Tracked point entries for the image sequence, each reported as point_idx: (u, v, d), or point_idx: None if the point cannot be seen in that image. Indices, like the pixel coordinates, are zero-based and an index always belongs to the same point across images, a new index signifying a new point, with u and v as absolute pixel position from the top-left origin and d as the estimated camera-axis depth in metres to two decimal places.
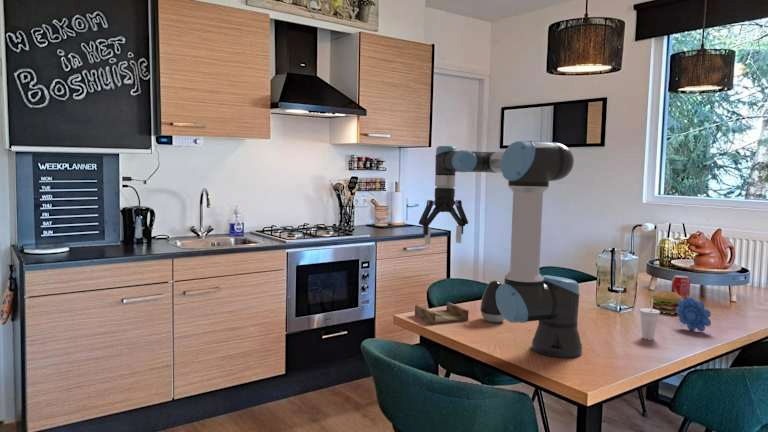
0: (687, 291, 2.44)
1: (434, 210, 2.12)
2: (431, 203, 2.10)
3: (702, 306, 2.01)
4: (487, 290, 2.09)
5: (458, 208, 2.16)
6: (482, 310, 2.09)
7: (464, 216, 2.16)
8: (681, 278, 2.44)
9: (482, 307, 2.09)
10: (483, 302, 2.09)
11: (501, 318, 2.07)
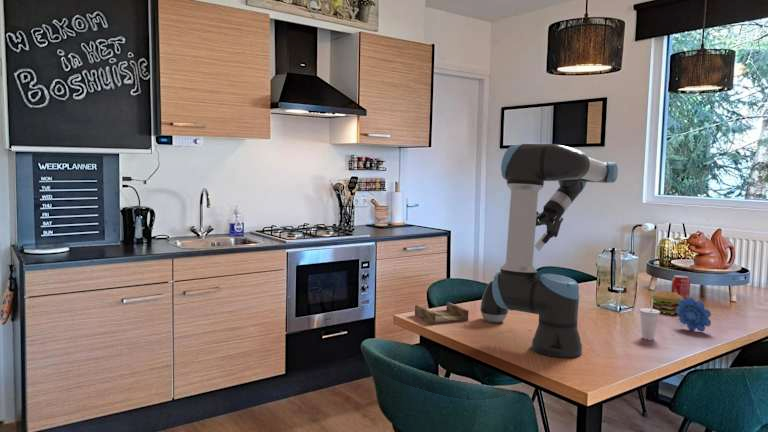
0: (687, 291, 2.44)
1: None
2: None
3: (702, 306, 2.01)
4: (487, 290, 2.09)
5: None
6: (482, 310, 2.09)
7: (554, 226, 2.09)
8: (681, 278, 2.44)
9: (482, 307, 2.09)
10: (483, 302, 2.09)
11: (501, 318, 2.07)
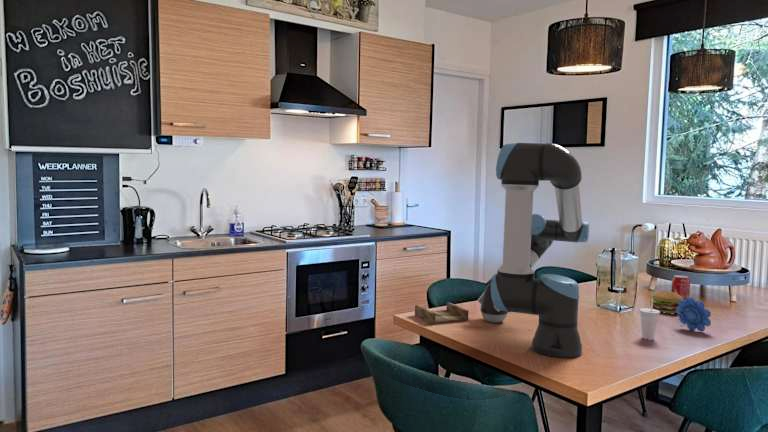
0: (687, 291, 2.44)
1: None
2: None
3: (702, 306, 2.01)
4: (487, 290, 2.09)
5: None
6: (482, 310, 2.09)
7: None
8: (681, 278, 2.44)
9: (482, 307, 2.09)
10: (483, 302, 2.09)
11: (501, 318, 2.07)
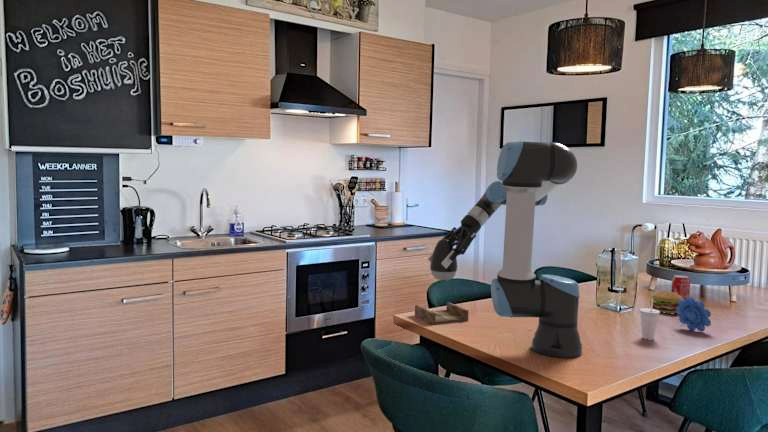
0: (687, 291, 2.44)
1: None
2: (453, 229, 2.19)
3: (702, 306, 2.01)
4: (436, 248, 2.10)
5: None
6: (431, 268, 2.10)
7: (462, 243, 2.06)
8: (681, 278, 2.44)
9: (431, 265, 2.10)
10: (432, 260, 2.10)
11: (450, 275, 2.08)
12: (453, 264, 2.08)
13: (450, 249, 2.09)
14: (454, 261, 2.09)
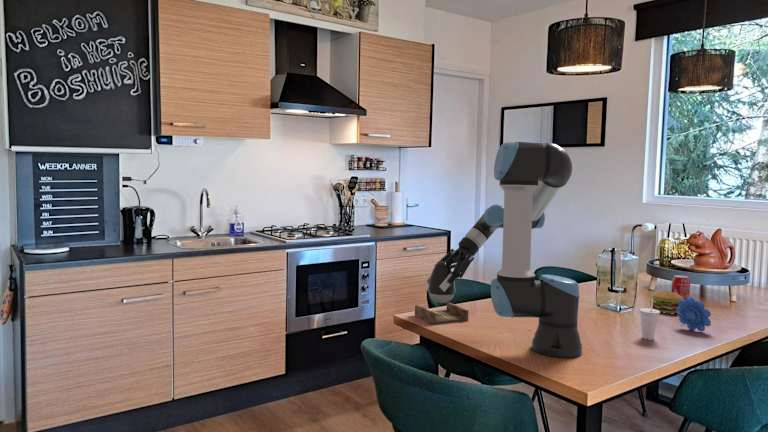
0: (687, 291, 2.43)
1: None
2: (450, 250, 2.20)
3: (702, 306, 2.01)
4: (434, 270, 2.11)
5: None
6: (429, 290, 2.11)
7: (460, 266, 2.07)
8: (681, 278, 2.44)
9: (429, 287, 2.11)
10: (430, 282, 2.11)
11: (447, 298, 2.09)
12: (451, 287, 2.09)
13: (448, 272, 2.10)
14: (452, 284, 2.10)
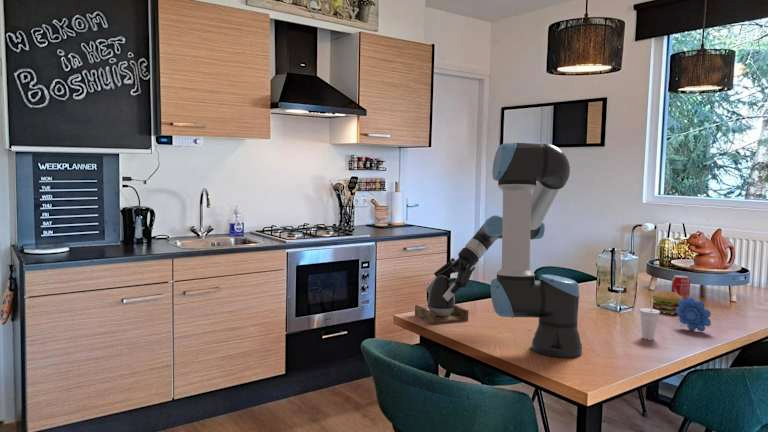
0: (687, 291, 2.44)
1: None
2: (451, 260, 2.20)
3: (702, 306, 2.01)
4: (434, 284, 2.11)
5: None
6: (429, 304, 2.11)
7: (463, 276, 2.06)
8: (681, 278, 2.44)
9: (429, 301, 2.11)
10: (430, 296, 2.11)
11: (447, 312, 2.09)
12: (451, 301, 2.09)
13: (448, 286, 2.10)
14: (452, 298, 2.10)
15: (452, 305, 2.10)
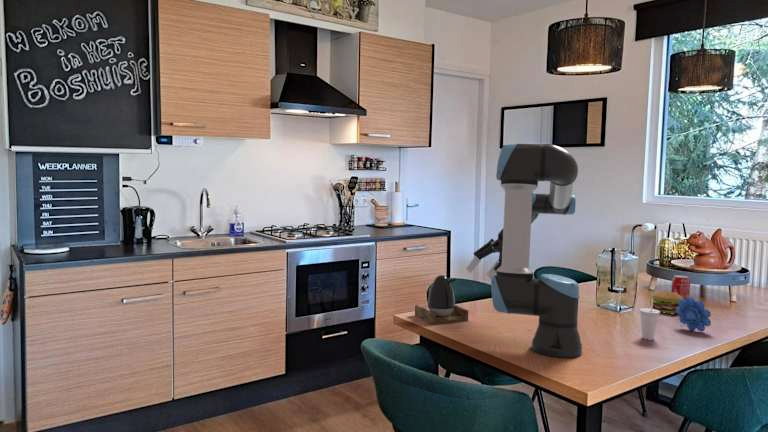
0: (687, 291, 2.44)
1: None
2: (490, 240, 2.27)
3: (702, 306, 2.01)
4: (434, 284, 2.11)
5: None
6: (429, 304, 2.11)
7: None
8: (681, 278, 2.44)
9: (429, 301, 2.11)
10: (430, 296, 2.11)
11: (447, 312, 2.09)
12: (451, 301, 2.09)
13: (448, 286, 2.10)
14: (452, 298, 2.10)
15: (452, 305, 2.10)
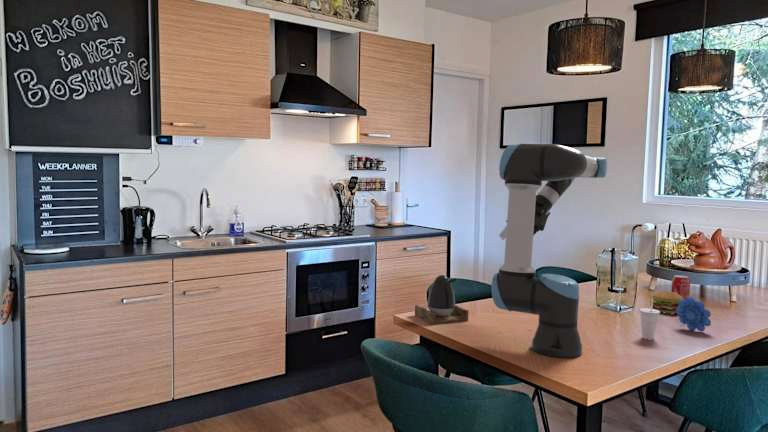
0: (687, 291, 2.44)
1: None
2: None
3: (702, 306, 2.01)
4: (434, 284, 2.11)
5: None
6: (429, 304, 2.11)
7: (540, 220, 2.11)
8: (681, 278, 2.44)
9: (429, 301, 2.11)
10: (430, 296, 2.11)
11: (447, 312, 2.09)
12: (451, 301, 2.09)
13: (448, 286, 2.10)
14: (452, 298, 2.10)
15: (452, 305, 2.10)
